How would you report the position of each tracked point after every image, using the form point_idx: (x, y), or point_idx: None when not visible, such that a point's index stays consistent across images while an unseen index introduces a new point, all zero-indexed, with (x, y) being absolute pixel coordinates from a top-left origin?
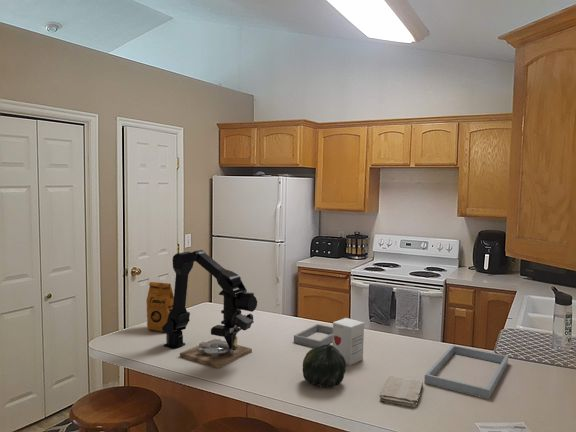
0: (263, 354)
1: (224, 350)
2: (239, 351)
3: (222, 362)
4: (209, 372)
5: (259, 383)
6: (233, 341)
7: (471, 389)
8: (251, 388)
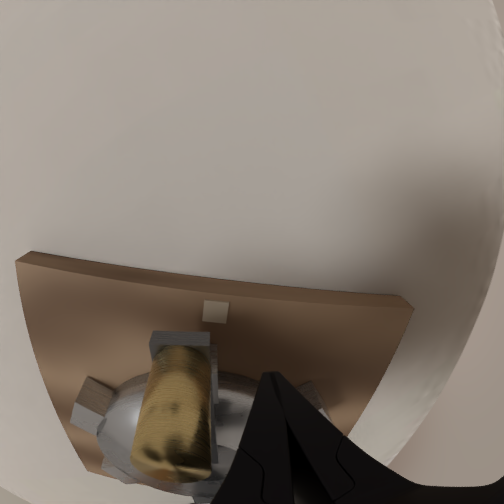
0: (21, 149)
1: (248, 402)
2: (109, 320)
3: (380, 308)
4: (445, 302)
5: (450, 4)
6: (269, 421)
7: None
8: (491, 37)
